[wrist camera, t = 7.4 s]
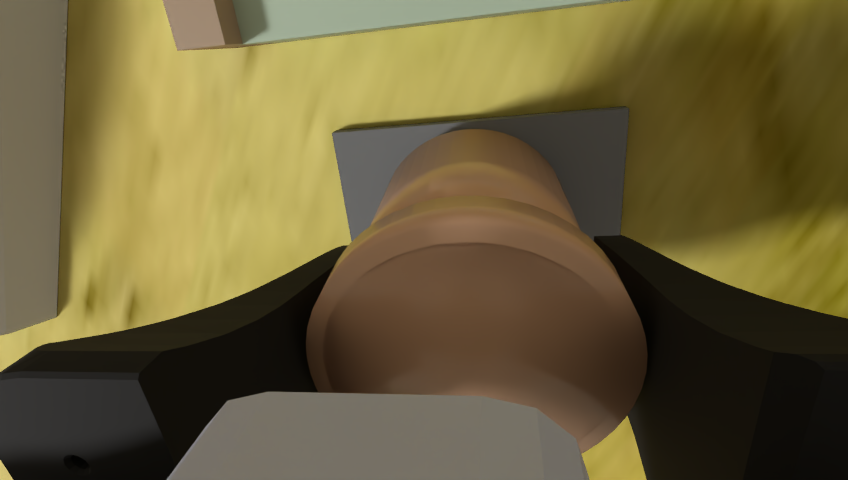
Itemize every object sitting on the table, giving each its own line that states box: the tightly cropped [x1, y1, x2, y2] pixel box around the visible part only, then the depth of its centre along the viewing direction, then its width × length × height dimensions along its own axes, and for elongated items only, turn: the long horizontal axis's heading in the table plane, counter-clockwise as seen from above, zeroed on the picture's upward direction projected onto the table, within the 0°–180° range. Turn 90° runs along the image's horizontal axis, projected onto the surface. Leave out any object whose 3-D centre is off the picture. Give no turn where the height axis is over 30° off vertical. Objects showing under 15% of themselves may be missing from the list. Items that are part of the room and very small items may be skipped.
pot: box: [306, 129, 648, 454], centre depth 10 cm, size 6×6×6 cm
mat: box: [332, 106, 629, 241], centre depth 14 cm, size 8×7×1 cm
